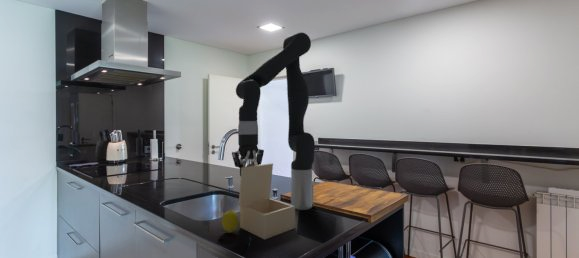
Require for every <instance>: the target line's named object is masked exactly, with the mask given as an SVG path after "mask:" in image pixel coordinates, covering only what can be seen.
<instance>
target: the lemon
mask: <svg viewBox="0 0 579 258" xmlns="http://www.w3.org/2000/svg"><path fill="white" fill-rule="evenodd" d="M239 222H240V219H239V216H238V213H236V211H234V210H232V209H229V210H228V211H226V212H225V213H224V214H223V216H222V219H221V225H222V228H223V229H224V231H226V232H228V233H229V234H231V233H233V232H234V231H235V230H236V229H237V228H238V226H239Z"/></svg>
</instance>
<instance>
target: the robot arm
mask: <svg viewBox="0 0 579 258" xmlns="http://www.w3.org/2000/svg"><path fill="white" fill-rule="evenodd" d="M311 46H312V42H311V37H310V36H309V35H308V34H307V33H305V32H301V31H300V32H296V33H294V34H291V35H288V36H286V37H285V39H284V40H283V44H282V48H283V49H282V50H281V51H280V52H278V53H277V54H275V55H274V56H272V57H270V58H269V59H267V60H266V61H265V62H264V63H262V65H260V66H259V67H258V68H257V69H255V71H254V72H253V73H251V74H249V75H248V76H246V77H245V78H243V79H242V80H241V81H239V82H238V84H237V85H236V88H235V94H236V96H237V97H238V98H239V99H241V100H243V102H242V105H241V106H240V107H239V108H238V109H239V110H238V128H237V129H238V130H237V131H238V132H237V133H238V150H235V151H232V152H231V155H232V159H233V160H232V161H233V163H234V167H235V168H238V169H239V177H240V178H241V169H242V167H246V166H247V165H246V164H247V163H248V160H249V161H250V164H254V165H255V166H256V165H262V162H263V157H264V154H265V150H264V149H259V147H258V145H259V124H258V108H259V104H260V100H261V93H262V92H261V88H262V87H264V86H268V84H270V82H272V81H273V80H274V79H275V78H276V77H277V76H278V75H280V73H281V72H282V71H284V69H285V72H286V73H285V75H286V89H287V91H286V92H287V93H286V94H287V105H288V106H287V107H288V112H287V113H288V135H287V142H288V143H287V144H288V147H289V148H290V150H291V151H292V152H295V158H294V160H293V161H292V162H291V164H290V180H291V181H290V205H293V206H295V210H298V211H306V210H307V211H308V210H309V209H312V208H313V206H312V204H313V205H314V184H313V164H314V161H315V147H316V144H315V138H314V136H313V135H312V134H311V133H310V132H305V127H304V124H305V123H304V119H305V116H306V113H307V109H308V107H309V100H310V97H309V85H308V83H307V80H306V78H305V75H304V74H303V73H302V72H303V71H302V69H301V65H300V58H301V57H302V56H303V55H305V54H307V53H308V52H309V51H310V50H311Z"/></svg>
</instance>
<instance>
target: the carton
mask: <svg viewBox="0 0 579 258" xmlns="http://www.w3.org/2000/svg"><path fill="white" fill-rule="evenodd" d="M239 222H240V223H239V226H240V227H239V228H241V229H242V230H243V231H247V232H249V233H251V234H252V235H255V236H257V237H258V238H261V239H262V240H267V239H271V238H273V237H274V236H275V237H276V236H278V235H280V234H282V233H285V232H288V231H291V230H293V229H295V228H296V209H295V206H293V205H291V203H290V204H289V203H286V202H285V201H284V202H283V201H280V200H277V199H275V198H271V197H270V198H268V199H264V200H260V201H256V202H252V203H248V204H244V205H239Z"/></svg>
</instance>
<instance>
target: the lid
mask: <svg viewBox="0 0 579 258" xmlns="http://www.w3.org/2000/svg"><path fill="white" fill-rule="evenodd" d="M273 165H274V163H272V162H271V163H263V164H259V165H256V166H255V165H254V164H251V163H248V164H247V165H246V166H245V167H242V169H241V177H240V184H239V195H238V196H239V198H238V206H241V205H245V204H249V203H253V202H256V201H260V200H264V199H268V198H271V188H272V179H273V170H274V169H273V167H274V166H273Z"/></svg>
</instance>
